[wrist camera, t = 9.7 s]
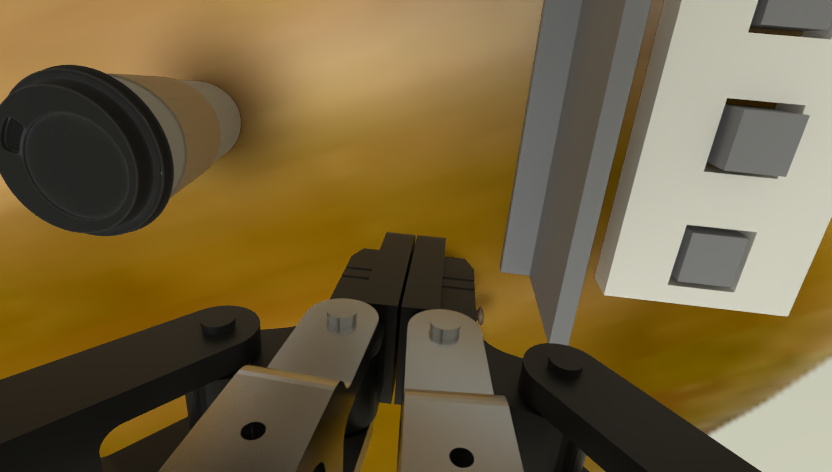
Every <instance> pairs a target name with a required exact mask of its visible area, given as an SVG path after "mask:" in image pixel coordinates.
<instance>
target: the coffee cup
mask: <svg viewBox="0 0 832 472" xmlns="http://www.w3.org/2000/svg"><path fill="white" fill-rule="evenodd" d="M240 129H241V118H240V113H239V110H238V107H237V105H236V104H235V102H234V100H233V99H232V98H231V97H230V96H229V95H228V94H227V93H226V92H224V91H223V90H222V89H220V88H218V87H217V86H215V85H212V84H210V83H206V82H201V81H187V80H176V79H172V78H167V77H157V76H140V75H124V74H105V73H103V72H101V71H98V70H95V69H92V68H88V67H84V66H77V65H60V66H54V67H50V68H47V69H44V70H42V71H38V72H36V73H33V74H31V75H29V76H27V77H25V78H24V79H23V80H21V81H20V82H19V83H18V84H17V85H16V86H15V87H14V88H13V89H12V91H11V92H10V93H9V95H8V97H7V98H6V99H5V100H4V101H3V102H2V103H1V105H0V173H1V175H2V177H3V179H4V181H5V183H6V184H7V186H8V187H9V189H10V190H11V191H12V193H13V194H14V195H15V196H16V197H17V199H18V200H19V201H20V202H21V203H22V204H23V205H24V206H25V207H26V208H28V209H29V210H30V211H31V212H32V213H34V214H35V215H36V216H38V217H39V218H41V219H42V220H44V221H46V222H48V223H50V224H52V225H54V226H56V227H59V228H61V229H64V230H68V231H72V232H78V233H86V234H90V235H96V236H115V235H120V234H124V233H128V232H132V231H135V230H138V229H141V228H143V227H145V226H146V225H148V224H150V223H151V222H152V221H154V220H155V219H156V218H157V217H158V216H159V215H160V213H161V212H162V211H163V209H164V208H165V206H166V204H167V203H168V200H169V199H170V198H171V197H172V196H173V195H175V194H176V193H177V192H179V191H180V190H181V189H183V188H184V187H185V186H187V185H188V184H189V183H191V182H192V181H193V180H195V179H196V178H197V177H199V176H200V175H201V174H203V173H204V172H205V171H206V170H207V169H208V168H209V167H210V166H211V165H212V163H214V162H215V161H216V160H217V159H219V158H220V157H221V156H223V155H224V154H225V153H227V152H228V151H229V150H230V149H231V148H232V147H233V146H234V144H235V143H236V141H237V139H238V137H239V134H240Z"/></svg>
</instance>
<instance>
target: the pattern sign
mask: <svg viewBox="0 0 832 472" xmlns="http://www.w3.org/2000/svg"><path fill="white" fill-rule="evenodd" d="M651 2H652V0H544V3H543V9H542V15H541V21H540V27H539V33H538V39H537V45H536V51H535V57H534V63H533V69H532V76H531V82H530V88H529V94H528V100H527V106H526V112H525V118H524V124H523V130H522V136H521V142H520V148H519V154H518V160H517V166H516V172H515V178H514V184H513V190H512V196H511V202H510V208H509V215H508V221H507V227H506V233H505V239H504V245H503V251H502V257H501V263H500V271H501V272H504V273H513V274H522V275H529V276H530V279H531V283H532V286H533V290H534V294H535V297H536V301H537V305H538V308H539V312H540V315H541V319H542V323H543V326H544V330H545V334H546V337H547V341H548V343H555V344H562V345H567V346H568V344H569V340H570V336H571V332H572V327H573V323H574V319H575V315H576V311H577V307H578V303H579V299H580V294H581V290H582V286H583V282H584V278H585V274H586V270H587V266H588V262H589V257H590V253H591V249H592V245H593V241H594V237H595V233H596V229H597V224H598V220H599V216H600V212H601V208H602V204H603V200H604V196H605V191H606V187H607V183H608V179H609V175H610V171H611V167H612V163H613V159H614V154H615V150H616V146H617V142H618V138H619V134H620V130H621V126H622V121H623V117H624V113H625V109H626V105H627V101H628V97H629V93H630V88H631V84H632V80H633V76H634V72H635V68H636V64H637V60H638V56H639V51H640V47H641V43H642V39H643V35H644V31H645V27H646V23H647V18H648V14H649V10H650V6H651Z"/></svg>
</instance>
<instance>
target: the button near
mask: <svg viewBox="0 0 832 472" xmlns="http://www.w3.org/2000/svg"><path fill="white" fill-rule="evenodd" d="M831 20H832V0H758V3H757V6H756V9H755V12H754V15H753V19H752V22H751V25H750V27H754V28H766V29H778V30H790V31H814V30H828V28H829V26H830V23H831Z"/></svg>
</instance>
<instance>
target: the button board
mask: <svg viewBox="0 0 832 472" xmlns="http://www.w3.org/2000/svg"><path fill="white" fill-rule="evenodd" d="M757 3H758V0H664V4H663V7H662V11H661V15H660V19H659V23H658V27H657V31H656V35H655V39H654V43H653V47H652V51H651V55H650V59H649V63H648V67H647V71H646V75H645V79H644V83H643V87H642V91H641V95H640V99H639V103H638V107H637V111H636V115H635V119H634V123H633V127H632V131H631V135H630V139H629V143H628V147H627V151H626V155H625V159H624V163H623V166H622V170H621V174H620V178H619V182H618V186H617V190H616V194H615V198H614V202H613V206H612V210H611V214H610V218H609V222H608V226H607V230H606V234H605V238H604V242H603V246H602V250H601V254H600V258H599V262H598V266H597V270H596V274H595V280H596V281H597V283H598V285H599V287H600V289H601V291H602V292H603V294H604V295H608V296H617V297H625V298H634V299H642V300H651V301H659V302H668V303H677V304H685V305H694V306H702V307H711V308H719V309H728V310H736V311H745V312H754V313H762V314H771V315H779V316H788V315H789V313H790V310H791V308H792V306H793V303H794V301H795V299H796V297H797V294H798V292H799V290H800V288H801V285H802V283H803V281H804V278H805V276H806V274H807V272H808V269H809V267H810V265H811V262H812V260H813V258H814V256H815V253H816V251H817V249H818V247H819V244H820V242H821V240H822V237H823V235H824V233H825V231H826V228H827V226H828V224H829V222H830V219H831V217H832V20H831V23H830V26H829V28H828V30H814V31H803V32H802V35H801V37H795V36H783V35H772V34H760V33H748V31H749V28H750V25H751V22H752V19H753V15H754V12H755V9H756V6H757ZM727 98H732V99H743V100H754V101H765V102H776V103H777V105H776V108H775V109H782V110H786V111H791V112H796V113H800V114H805V115H810V117H809V119H808V122H807V124H806V127H805V130H804V132H803V135H802V137H801V140H800V143H799V145H798V148H797V150H796V153H795V155H794V158H793V161H792V163H791V166H790V168H789V171H788V173H787V176H786V177H782V176H772V175H762V174H752V173H742V172H732V171H724V170H722V169H720V168H718V167H716V166H714V165H712V164H706V163H707V160H708V157H709V153H710V150H711V147H712V144H713V141H714V138H715V135H716V131H717V128H718V125H719V122H720V119H721V116H722V113H723V110H724V106H725V103H726V100H727ZM687 225H694V226H704V227H713V228H722V229H732V230H737V231H739V232H740V233H742V234H743V235H744V236H746V237H747V238H749V242H748V244H747V247H746V250H745V252H744V255H743V258H742V260H741V263H740V266H739V268H738V271H737V274H736V276H735V279H734V281H733V284H732V287H723V286H714V285H705V284H696V283H688V282H679V281H677V280H676V279H675V278H674V277H673V276H672V275H671V273H672V269H673V266H674V263H675V260H676V257H677V254H678V251H679V248H680V244H681V241H682V238H683V235H684V232H685V229H686V226H687Z"/></svg>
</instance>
